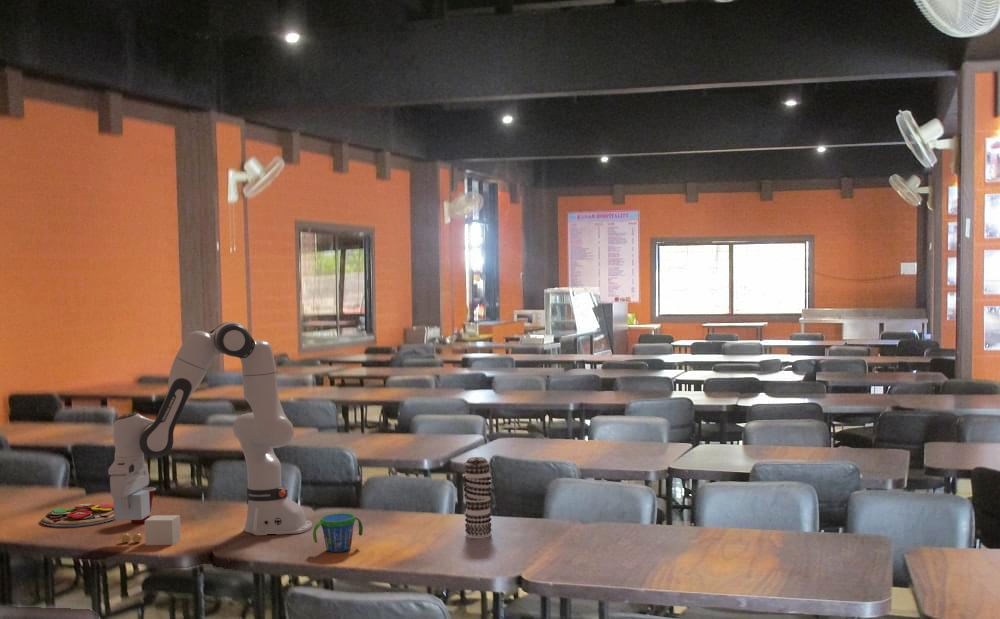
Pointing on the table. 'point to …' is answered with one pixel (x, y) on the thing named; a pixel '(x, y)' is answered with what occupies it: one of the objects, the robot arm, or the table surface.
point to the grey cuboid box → (162, 530)
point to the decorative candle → (477, 498)
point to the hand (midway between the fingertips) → (132, 506)
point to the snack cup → (337, 531)
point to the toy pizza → (79, 515)
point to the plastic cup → (151, 492)
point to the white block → (133, 506)
